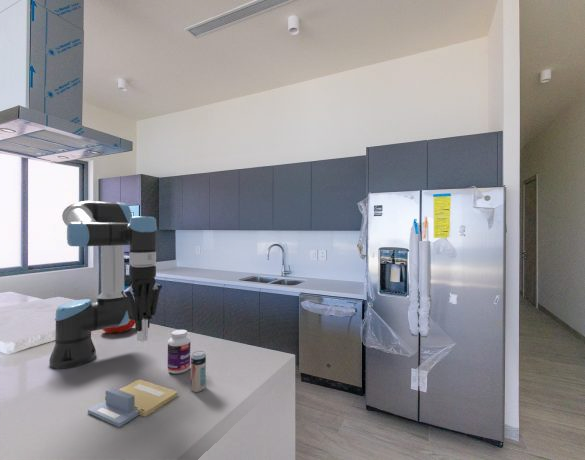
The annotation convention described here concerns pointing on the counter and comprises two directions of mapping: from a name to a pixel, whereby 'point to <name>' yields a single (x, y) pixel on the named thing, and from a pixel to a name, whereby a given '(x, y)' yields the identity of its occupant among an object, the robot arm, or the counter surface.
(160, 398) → the tan notebook
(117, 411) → the stub
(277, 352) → the counter surface
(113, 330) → the red rounded piece
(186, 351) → the pill bottle
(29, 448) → the counter surface
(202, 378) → the beer can
